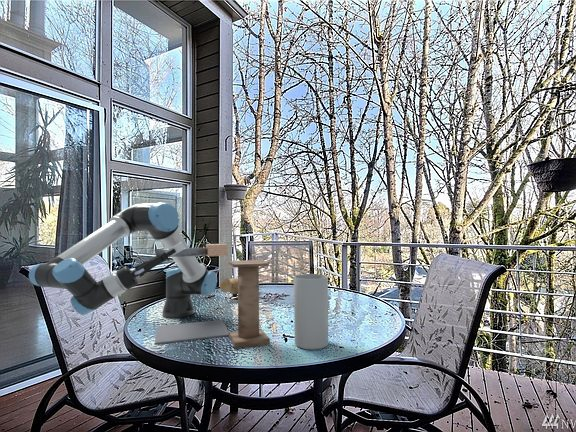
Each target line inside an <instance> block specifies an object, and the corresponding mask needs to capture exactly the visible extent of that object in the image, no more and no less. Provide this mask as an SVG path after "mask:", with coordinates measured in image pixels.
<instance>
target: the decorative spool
mask: <svg viewBox="0 0 576 432" xmlns="http://www.w3.org/2000/svg"><path fill="white" fill-rule="evenodd" d="M219 288H220V291H221V292H223V293H229V294H230V295H231V294H232V295H231V298H232V297H237V298H238V277H232V278H230V279H229V278H224V279H222V280H221V282H220V284H219Z"/></svg>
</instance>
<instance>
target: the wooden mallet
mask: <svg viewBox="0 0 576 432" xmlns="http://www.w3.org/2000/svg"><path fill="white" fill-rule="evenodd" d="M167 250H168V249H165V248H156V249H155V256H156V257H157V256H159V255H161V254H163V253H164V252H165V251H167ZM165 253H166V252H165ZM184 256H195V257H201V256H202V257H204V256H205V257H225V256H227V257H228V244H227V243H206V244H205V247H189V248H186V249H184V250H182V251H180V252H179V253H177V254H175V255H174V256H172V257H184ZM172 257H171V258H172Z"/></svg>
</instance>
